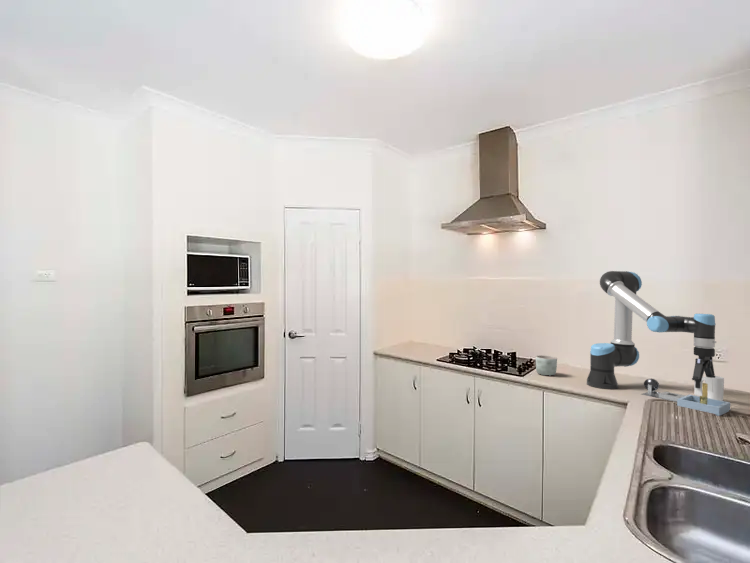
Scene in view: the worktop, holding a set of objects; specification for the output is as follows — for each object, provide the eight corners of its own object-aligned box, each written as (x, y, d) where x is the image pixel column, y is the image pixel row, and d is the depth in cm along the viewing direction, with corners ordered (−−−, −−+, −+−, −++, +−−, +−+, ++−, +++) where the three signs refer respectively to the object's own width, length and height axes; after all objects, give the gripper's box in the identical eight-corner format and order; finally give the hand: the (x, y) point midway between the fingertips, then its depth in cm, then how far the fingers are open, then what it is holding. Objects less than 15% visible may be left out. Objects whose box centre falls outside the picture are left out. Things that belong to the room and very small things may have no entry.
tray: (677, 406, 182) (677, 398, 182) (689, 401, 191) (689, 394, 191) (719, 416, 170) (719, 407, 170) (730, 410, 178) (730, 402, 178)
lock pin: (698, 406, 181) (698, 383, 181) (700, 405, 182) (701, 382, 182) (706, 408, 178) (706, 384, 179) (708, 407, 180) (708, 383, 180)
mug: (727, 402, 191) (727, 378, 191) (718, 403, 189) (718, 378, 189) (703, 397, 200) (704, 373, 201) (695, 397, 198) (695, 374, 198)
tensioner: (640, 395, 201) (640, 378, 201) (648, 392, 206) (649, 376, 207) (680, 404, 187) (680, 386, 187) (688, 400, 192) (688, 383, 193)
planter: (554, 373, 250) (554, 356, 250) (558, 377, 238) (559, 359, 238) (533, 371, 253) (534, 354, 253) (537, 375, 241) (537, 358, 241)
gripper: (704, 350, 171) (704, 399, 170) (723, 346, 185) (723, 391, 184) (683, 348, 177) (683, 395, 177) (703, 344, 191) (703, 387, 191)
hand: (703, 393), depth 180 cm, fingers open, 13 cm apart
